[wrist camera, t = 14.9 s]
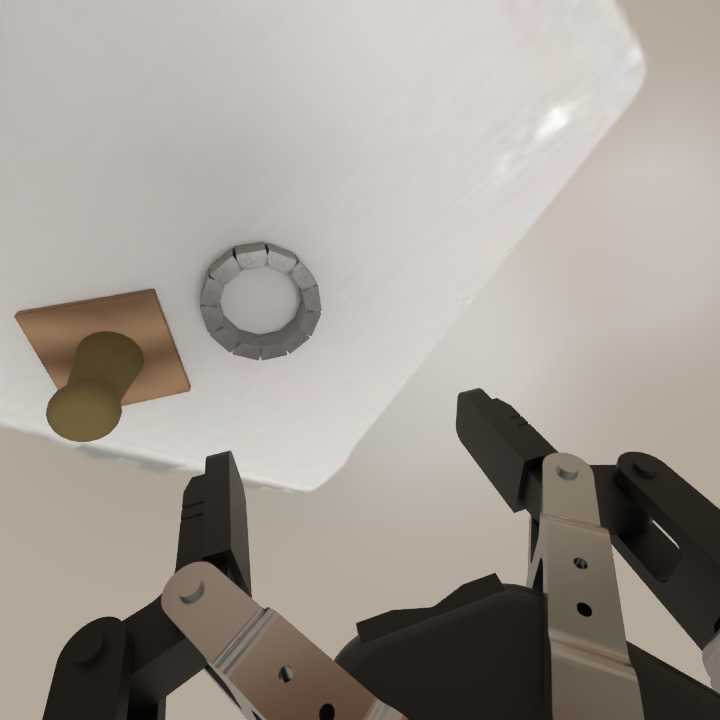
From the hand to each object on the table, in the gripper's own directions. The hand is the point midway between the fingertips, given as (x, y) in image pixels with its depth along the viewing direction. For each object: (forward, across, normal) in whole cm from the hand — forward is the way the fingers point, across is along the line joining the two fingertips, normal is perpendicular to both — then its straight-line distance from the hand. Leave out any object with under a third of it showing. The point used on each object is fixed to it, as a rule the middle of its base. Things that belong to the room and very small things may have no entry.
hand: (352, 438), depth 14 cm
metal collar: (+32, +2, +7) cm, 33 cm away
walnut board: (+32, +18, +10) cm, 38 cm away
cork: (+31, +18, +10) cm, 38 cm away
